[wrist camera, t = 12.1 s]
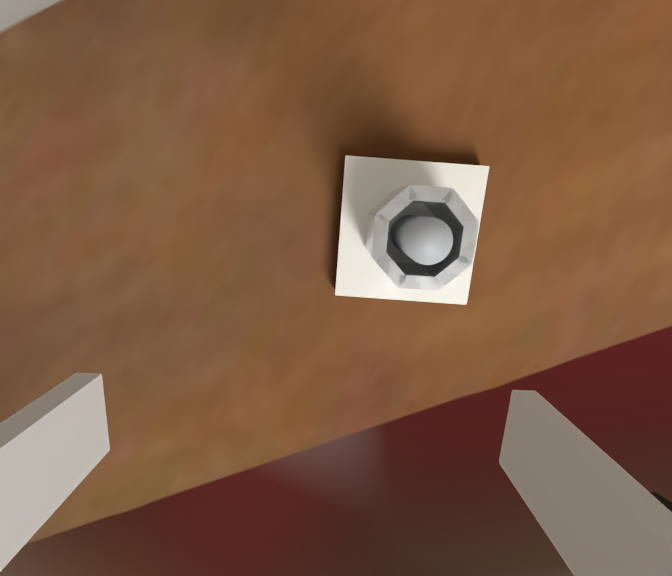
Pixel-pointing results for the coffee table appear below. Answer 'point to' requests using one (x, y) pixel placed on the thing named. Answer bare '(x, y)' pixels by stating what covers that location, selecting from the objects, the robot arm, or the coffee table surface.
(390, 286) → the post
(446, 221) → the tube
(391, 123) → the coffee table surface
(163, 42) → the coffee table surface
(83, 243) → the coffee table surface
